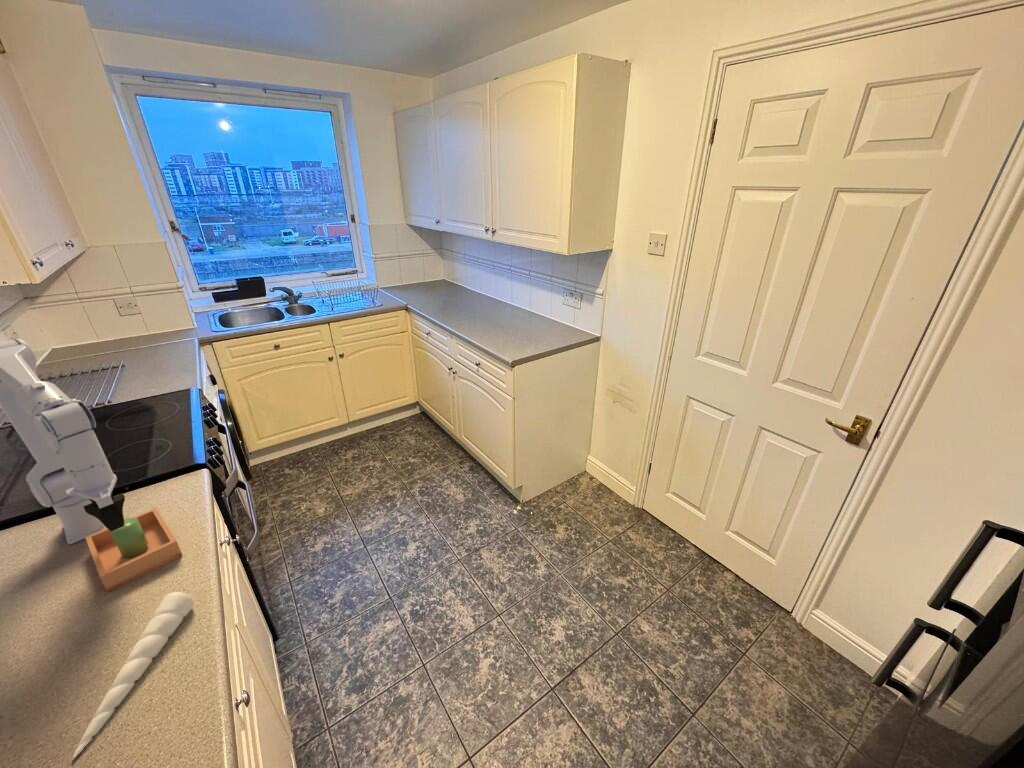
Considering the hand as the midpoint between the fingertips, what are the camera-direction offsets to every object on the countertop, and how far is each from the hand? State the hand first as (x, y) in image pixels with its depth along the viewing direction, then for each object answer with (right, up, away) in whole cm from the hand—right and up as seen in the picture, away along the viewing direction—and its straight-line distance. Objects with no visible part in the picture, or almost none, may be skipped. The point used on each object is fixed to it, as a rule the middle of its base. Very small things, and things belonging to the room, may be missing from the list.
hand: (112, 519), depth 84 cm
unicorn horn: (+21, -19, -17) cm, 33 cm away
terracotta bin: (+1, -9, +5) cm, 10 cm away
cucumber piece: (+1, -8, +4) cm, 9 cm away
